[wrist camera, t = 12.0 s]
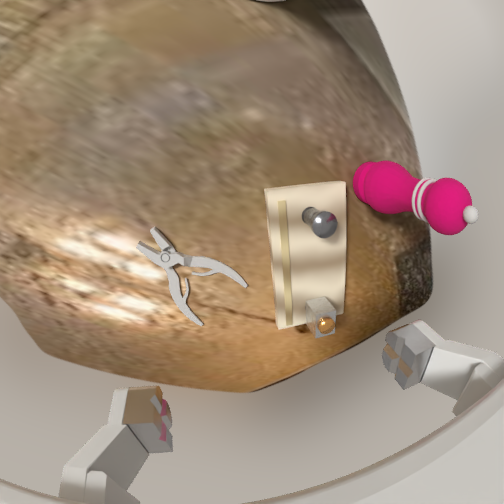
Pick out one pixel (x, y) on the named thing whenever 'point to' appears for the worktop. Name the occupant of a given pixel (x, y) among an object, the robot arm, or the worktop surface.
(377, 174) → the pepper mill
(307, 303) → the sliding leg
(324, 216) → the fixed leg
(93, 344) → the worktop surface
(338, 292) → the board
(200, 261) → the pliers
